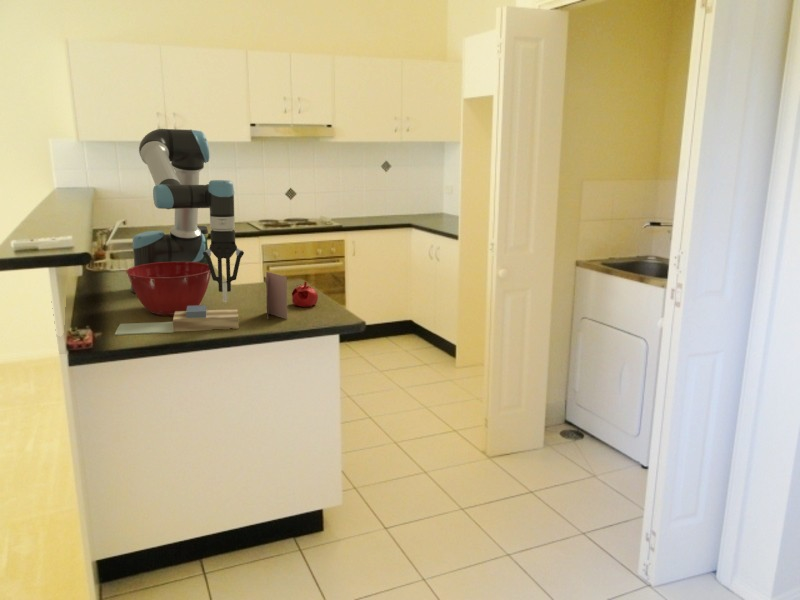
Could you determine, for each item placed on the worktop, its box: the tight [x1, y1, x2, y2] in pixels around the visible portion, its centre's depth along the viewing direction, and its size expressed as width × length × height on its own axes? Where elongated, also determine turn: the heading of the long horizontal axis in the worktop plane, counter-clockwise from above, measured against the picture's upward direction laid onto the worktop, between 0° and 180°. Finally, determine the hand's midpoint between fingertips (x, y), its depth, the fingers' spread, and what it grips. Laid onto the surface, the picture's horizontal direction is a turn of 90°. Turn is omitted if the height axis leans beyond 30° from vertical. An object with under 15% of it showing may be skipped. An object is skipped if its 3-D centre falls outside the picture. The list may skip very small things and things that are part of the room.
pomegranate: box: [291, 280, 319, 308], centre depth 236 cm, size 10×10×9 cm
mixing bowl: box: [125, 262, 211, 317], centre depth 221 cm, size 28×28×16 cm
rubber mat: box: [114, 321, 175, 336], centre depth 201 cm, size 11×17×1 cm, turn 106°
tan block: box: [172, 308, 240, 333], centre depth 206 cm, size 10×20×4 cm, turn 106°
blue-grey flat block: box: [186, 304, 208, 318], centre depth 204 cm, size 8×6×2 cm
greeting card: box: [263, 271, 288, 320], centre depth 218 cm, size 11×7×15 cm, turn 13°
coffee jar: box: [197, 225, 209, 264], centre depth 305 cm, size 10×8×19 cm
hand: (225, 301), depth 206 cm, fingers closed
